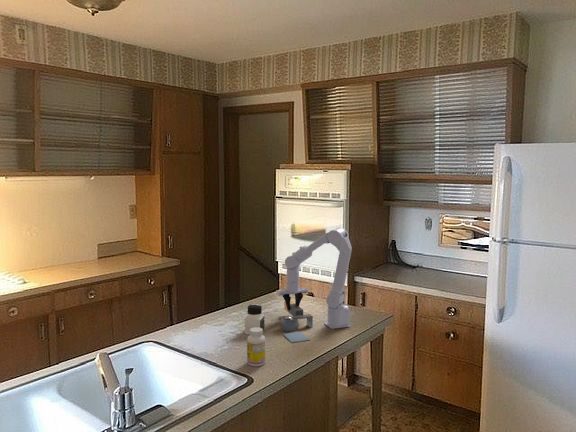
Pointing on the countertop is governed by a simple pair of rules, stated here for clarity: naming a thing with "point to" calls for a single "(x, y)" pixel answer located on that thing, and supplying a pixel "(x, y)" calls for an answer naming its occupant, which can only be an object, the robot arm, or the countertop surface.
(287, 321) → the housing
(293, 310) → the plug
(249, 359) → the supplement bottle
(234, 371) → the countertop surface
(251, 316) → the medicine bottle
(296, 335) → the mat
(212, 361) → the countertop surface
